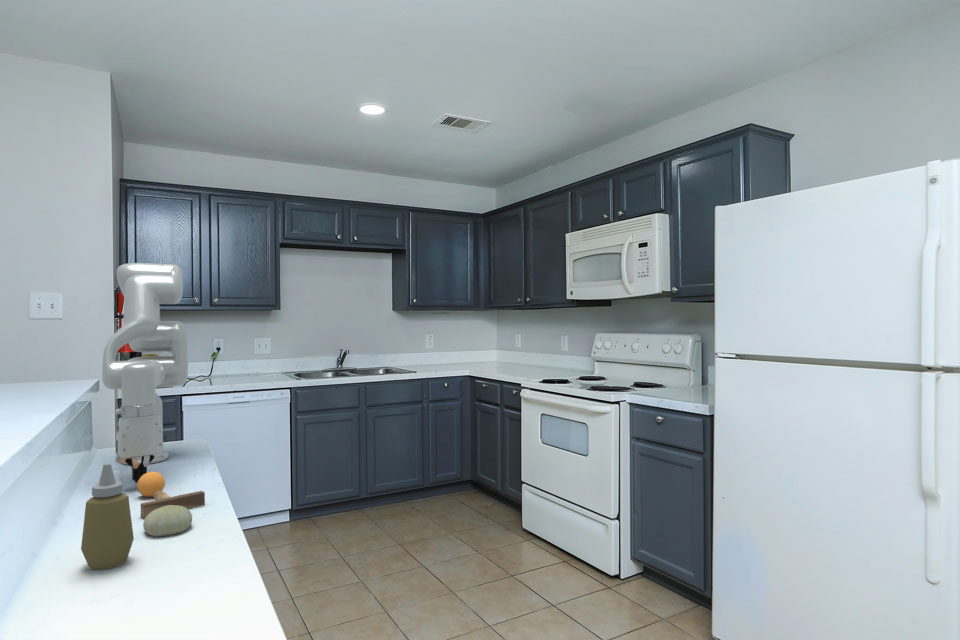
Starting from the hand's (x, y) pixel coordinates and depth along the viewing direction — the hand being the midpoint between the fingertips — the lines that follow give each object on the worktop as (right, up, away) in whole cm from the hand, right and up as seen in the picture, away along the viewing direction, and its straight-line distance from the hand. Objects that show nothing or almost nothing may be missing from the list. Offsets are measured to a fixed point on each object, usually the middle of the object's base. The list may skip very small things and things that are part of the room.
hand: (139, 482), depth 153 cm
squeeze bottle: (+21, -2, -46) cm, 50 cm away
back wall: (+18, -2, -18) cm, 25 cm away
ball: (+7, +1, -7) cm, 10 cm away
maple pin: (+10, -1, -10) cm, 14 cm away
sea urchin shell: (+23, -2, -29) cm, 37 cm away
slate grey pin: (+3, -2, -15) cm, 16 cm away
